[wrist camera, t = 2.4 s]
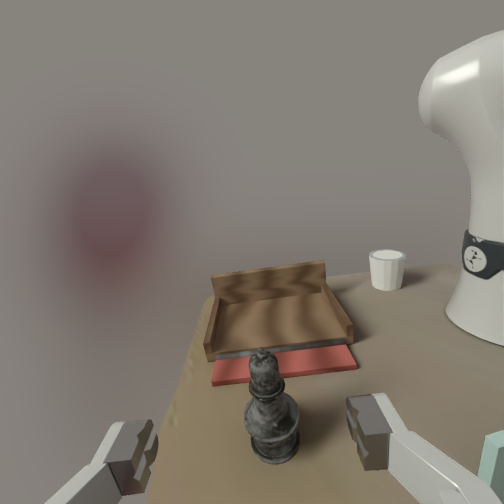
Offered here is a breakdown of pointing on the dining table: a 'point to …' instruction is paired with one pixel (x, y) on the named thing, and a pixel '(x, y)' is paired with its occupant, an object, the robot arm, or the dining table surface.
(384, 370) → the dining table surface
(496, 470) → the l-shaped corner panel
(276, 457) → the stone chess piece
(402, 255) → the white tapered cup
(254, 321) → the tray
